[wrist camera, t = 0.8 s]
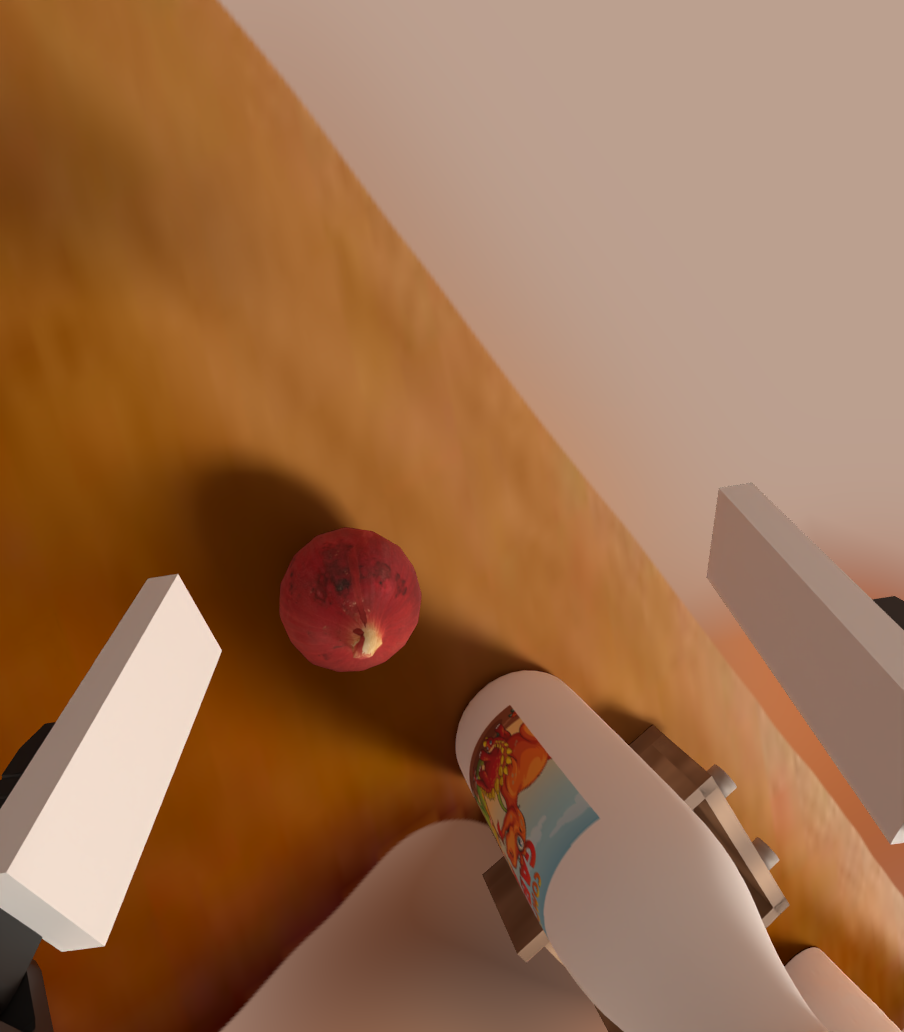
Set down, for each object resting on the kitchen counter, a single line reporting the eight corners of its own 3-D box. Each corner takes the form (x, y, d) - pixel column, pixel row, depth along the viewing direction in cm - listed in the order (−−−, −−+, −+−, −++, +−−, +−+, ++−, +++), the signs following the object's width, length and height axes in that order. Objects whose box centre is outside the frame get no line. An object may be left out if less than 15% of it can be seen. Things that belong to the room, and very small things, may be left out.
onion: (260, 534, 25) (256, 596, 17) (381, 496, 26) (425, 538, 19) (300, 645, 26) (313, 744, 19) (412, 603, 28) (464, 681, 20)
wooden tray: (482, 874, 33) (517, 953, 28) (666, 712, 35) (727, 761, 30) (584, 981, 38) (628, 1063, 33) (740, 834, 40) (802, 892, 35)
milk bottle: (525, 639, 30) (929, 1026, 12) (595, 718, 33) (1009, 1130, 15) (424, 737, 30) (684, 1313, 11) (504, 809, 32) (817, 1364, 14)
